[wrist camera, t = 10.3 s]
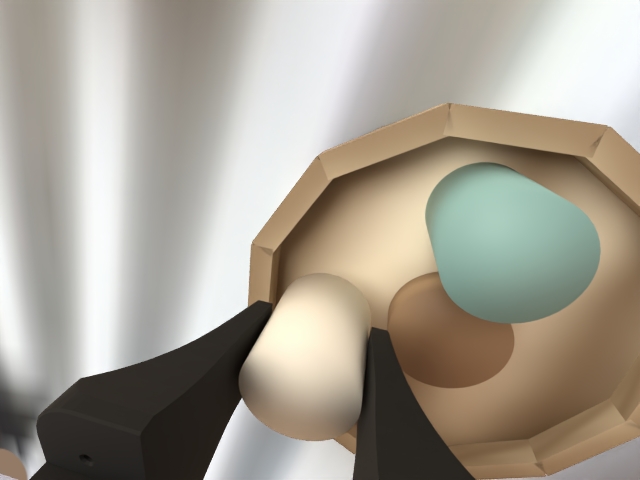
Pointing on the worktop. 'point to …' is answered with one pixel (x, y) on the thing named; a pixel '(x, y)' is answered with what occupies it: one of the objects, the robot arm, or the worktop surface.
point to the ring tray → (541, 347)
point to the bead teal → (509, 244)
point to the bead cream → (310, 360)
